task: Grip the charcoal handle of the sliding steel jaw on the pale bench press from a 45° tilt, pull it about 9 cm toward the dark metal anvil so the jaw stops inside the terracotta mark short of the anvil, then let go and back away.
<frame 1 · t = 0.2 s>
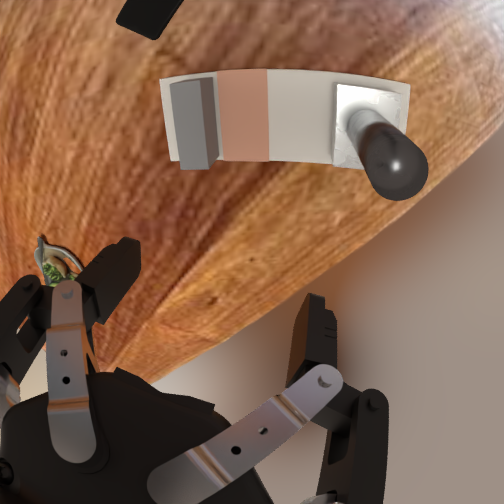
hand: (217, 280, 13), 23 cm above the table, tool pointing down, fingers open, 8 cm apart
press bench: (284, 112, 28), on the table
salad plate: (67, 273, 54), on the table
press jaw: (376, 140, 20), point 9 cm above the table, slide at 0.0 cm
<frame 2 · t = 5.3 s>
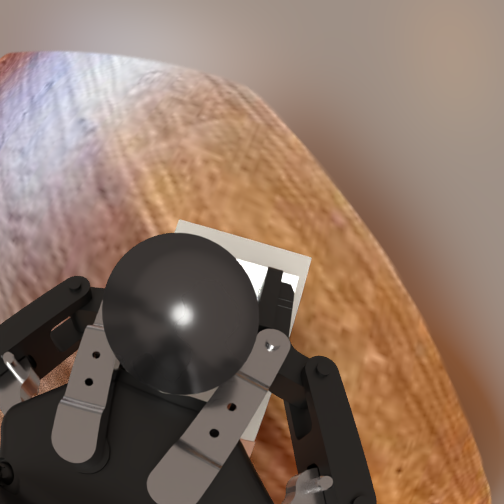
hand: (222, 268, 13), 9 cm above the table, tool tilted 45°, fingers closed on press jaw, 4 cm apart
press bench: (198, 398, 20), on the table
press jaw: (210, 308, 13), point 9 cm above the table, slide at 0.0 cm, touching gripper
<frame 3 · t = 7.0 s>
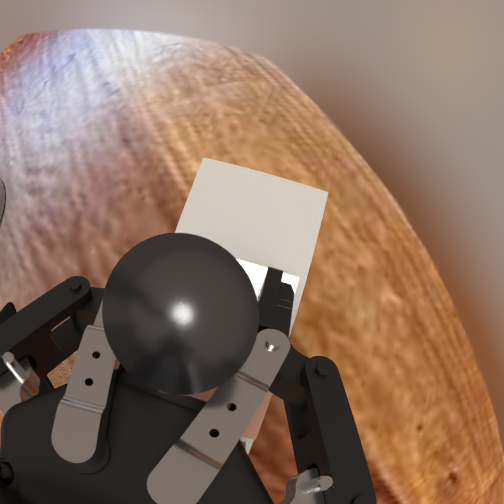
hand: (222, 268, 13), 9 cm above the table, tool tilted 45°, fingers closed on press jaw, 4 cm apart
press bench: (215, 338, 21), on the table
smartphone: (28, 376, 21), on the table
press jaw: (210, 308, 13), point 9 cm above the table, slide at 5.3 cm, touching gripper
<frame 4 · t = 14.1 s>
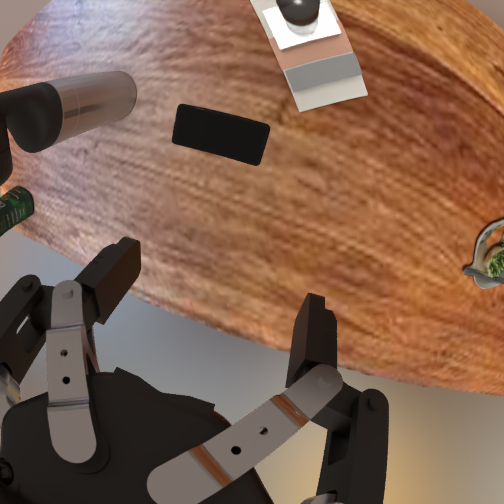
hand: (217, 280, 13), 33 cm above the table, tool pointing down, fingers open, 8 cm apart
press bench: (300, 22, 29), on the table
salad plate: (503, 250, 41), on the table
smartphone: (219, 132, 42), on the table
press jaw: (300, 14, 23), point 9 cm above the table, slide at 9.0 cm
coffee jar: (25, 198, 57), on the table
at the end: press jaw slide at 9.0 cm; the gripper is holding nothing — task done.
